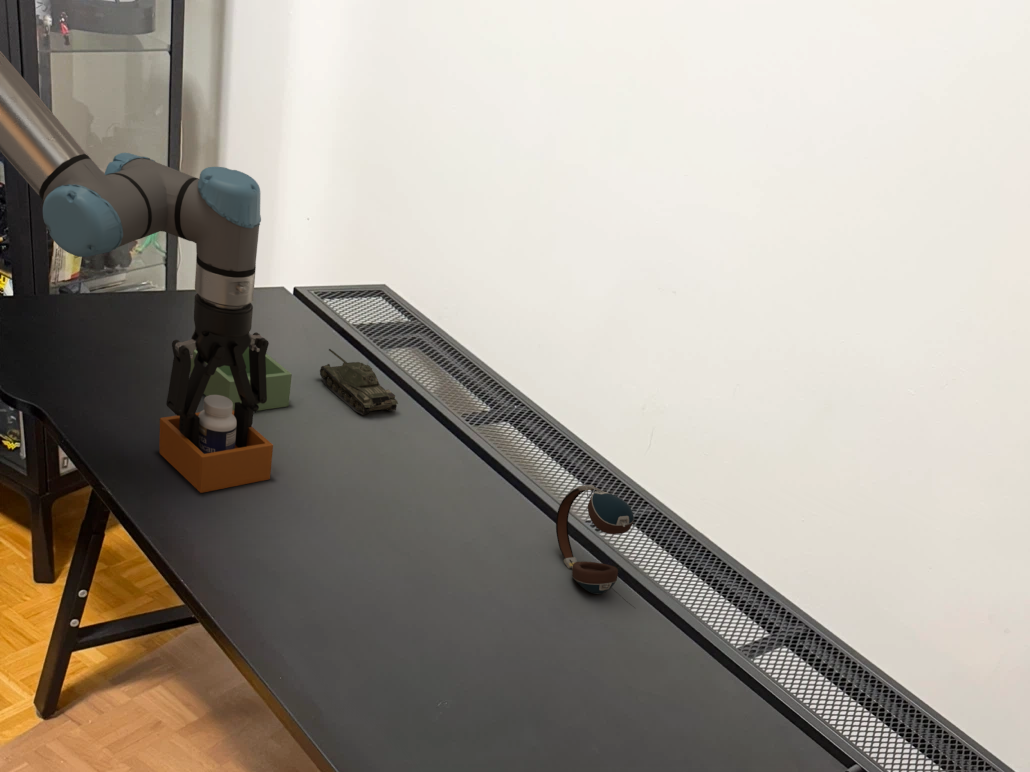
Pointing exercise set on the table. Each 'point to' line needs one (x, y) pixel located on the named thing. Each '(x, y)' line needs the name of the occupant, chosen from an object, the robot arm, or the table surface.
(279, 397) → the green bin
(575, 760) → the table surface
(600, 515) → the headphones
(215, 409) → the pill bottle
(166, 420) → the amber bin
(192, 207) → the robot arm
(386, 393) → the toy tank
